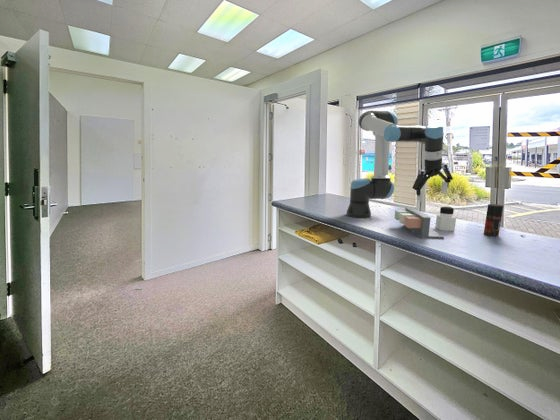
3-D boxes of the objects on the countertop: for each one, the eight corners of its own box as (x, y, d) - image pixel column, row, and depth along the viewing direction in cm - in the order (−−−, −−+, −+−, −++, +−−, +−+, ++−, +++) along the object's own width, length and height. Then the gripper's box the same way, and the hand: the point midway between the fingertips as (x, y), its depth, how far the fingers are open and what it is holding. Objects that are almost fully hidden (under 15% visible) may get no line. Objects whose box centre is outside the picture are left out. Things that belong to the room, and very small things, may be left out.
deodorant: (484, 232, 145) (488, 203, 142) (498, 234, 141) (503, 205, 138) (483, 235, 140) (487, 205, 137) (498, 237, 136) (503, 206, 133)
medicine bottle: (454, 231, 147) (457, 208, 145) (439, 230, 148) (442, 207, 146) (449, 227, 154) (452, 206, 151) (435, 227, 155) (437, 205, 153)
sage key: (397, 220, 152) (397, 211, 151) (394, 218, 156) (395, 210, 155) (415, 220, 151) (416, 212, 150) (412, 218, 156) (413, 210, 155)
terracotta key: (407, 227, 136) (408, 218, 135) (404, 225, 141) (405, 216, 140) (428, 228, 135) (429, 219, 135) (424, 226, 140) (425, 217, 139)
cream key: (402, 223, 144) (402, 215, 143) (399, 221, 148) (400, 213, 148) (421, 224, 143) (422, 215, 142) (418, 222, 148) (419, 213, 147)
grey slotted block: (421, 238, 134) (423, 217, 132) (403, 225, 159) (405, 207, 157) (443, 238, 134) (446, 218, 132) (422, 225, 158) (424, 207, 156)
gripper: (413, 166, 133) (413, 206, 143) (463, 153, 135) (460, 193, 144) (404, 162, 140) (405, 200, 150) (451, 149, 141) (449, 187, 151)
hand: (432, 197), depth 147 cm, fingers open, 13 cm apart
